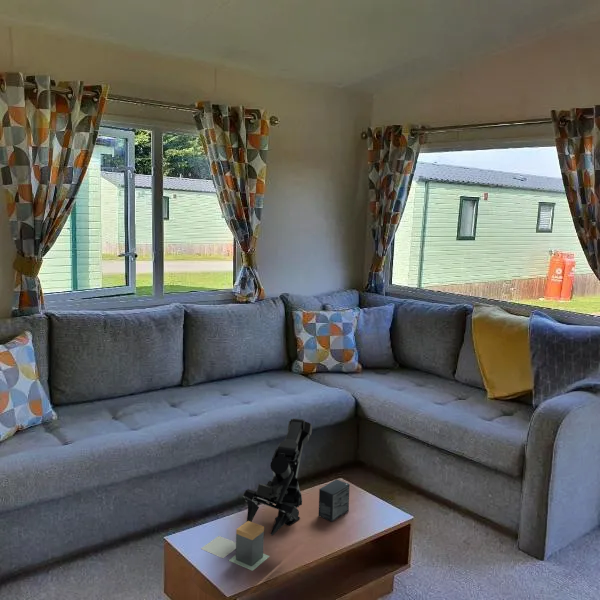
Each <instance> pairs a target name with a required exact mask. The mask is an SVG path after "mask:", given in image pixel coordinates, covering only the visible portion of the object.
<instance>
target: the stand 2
mask: <svg viewBox="0 0 600 600" xmlns="http://www.w3.org/2000/svg"><path fill="white" fill-rule="evenodd" d="M268 558H270V555H268V554H266V553H263V557H262V558H261V559H260V560H259V561H258V562H256V563H255V564H254V565H253V566H249V565H247V564H244V563H242V562H240V561H237V560H236V554H234V556H232V557H231V558H229V560H228V561H229V562H231V563H233V564H236V565H238V566H239V567H242V568H245V569H248V570H250V571H252V572H253V571H254V570H255V569H257V568H258V567H259V566H260V565H261V564H263V563H264V562H265V561H267V559H268Z"/></svg>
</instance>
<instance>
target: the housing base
mask: <svg viewBox="0 0 600 600" xmlns="http://www.w3.org/2000/svg"><path fill="white" fill-rule="evenodd" d="M264 538H265V531H264V532H262V533H261V534H260V535H258V536H257V537H256V538H255V539H253V540H251V539H248V538H246V537H243V536H240V535H238V534H236V533H235V542H236V549H235V555H236V560H237V561H240V562H242V563H244V564H247V565H249V566H253V565H254V564H255V563H256V562H258V561H259V560H260V559H261V558H262V557H263V554H264Z"/></svg>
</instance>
